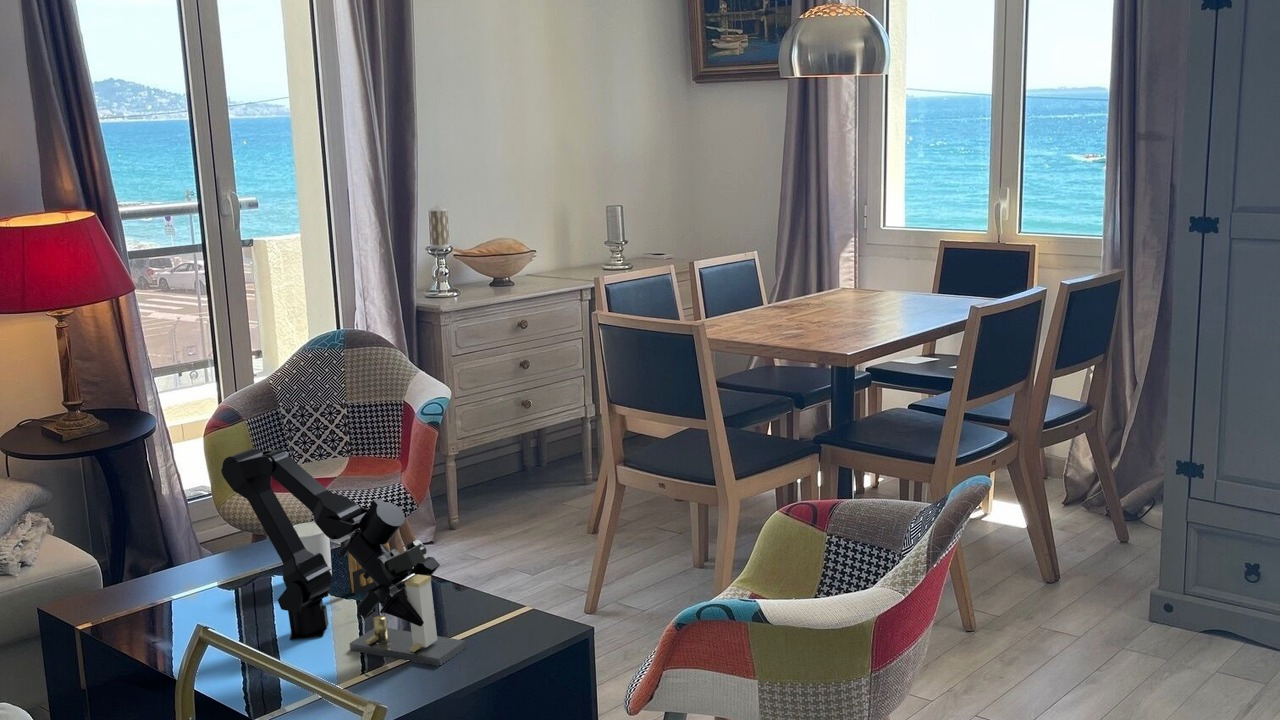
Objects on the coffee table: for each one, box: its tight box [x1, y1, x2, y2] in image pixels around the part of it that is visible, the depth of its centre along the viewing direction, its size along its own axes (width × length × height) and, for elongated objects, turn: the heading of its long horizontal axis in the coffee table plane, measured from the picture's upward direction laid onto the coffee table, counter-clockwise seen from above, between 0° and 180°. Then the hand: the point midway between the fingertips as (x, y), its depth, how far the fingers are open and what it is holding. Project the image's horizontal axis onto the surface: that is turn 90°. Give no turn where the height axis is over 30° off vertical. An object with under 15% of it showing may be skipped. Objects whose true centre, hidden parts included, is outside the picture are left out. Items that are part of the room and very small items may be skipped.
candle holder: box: [293, 521, 333, 576], centre depth 262 cm, size 10×10×12 cm
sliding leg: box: [405, 574, 438, 652], centre depth 219 cm, size 3×6×13 cm, turn 153°
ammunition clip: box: [347, 542, 391, 595], centre depth 256 cm, size 11×2×12 cm, turn 139°
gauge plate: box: [349, 614, 467, 667], centre depth 223 cm, size 21×8×6 cm, turn 63°
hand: (428, 620), depth 220 cm, fingers closed on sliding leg, 3 cm apart
